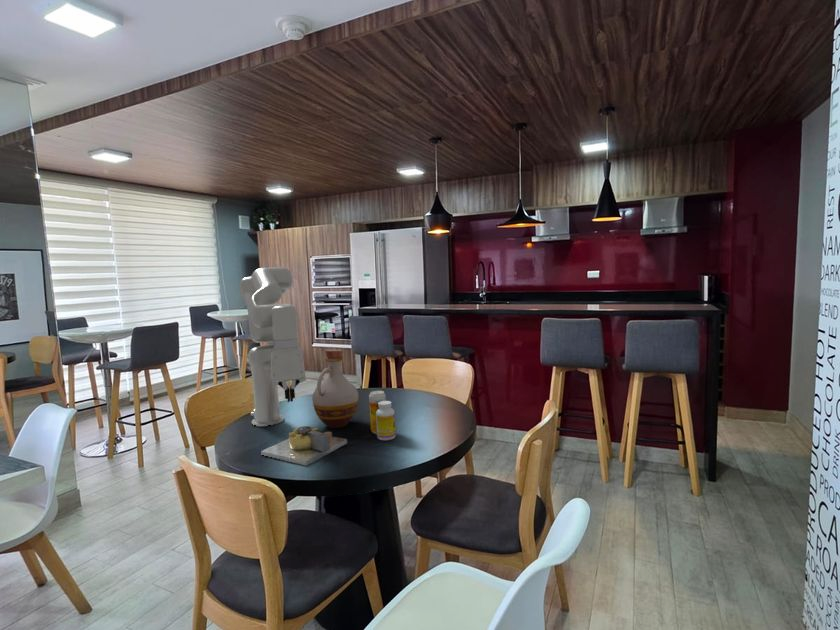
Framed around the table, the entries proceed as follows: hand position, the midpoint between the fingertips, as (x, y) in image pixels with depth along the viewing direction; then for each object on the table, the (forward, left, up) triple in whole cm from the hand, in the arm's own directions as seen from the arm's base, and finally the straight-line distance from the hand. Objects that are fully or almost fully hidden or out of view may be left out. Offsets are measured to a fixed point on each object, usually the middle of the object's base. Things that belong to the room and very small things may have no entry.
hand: (290, 400), depth 141 cm
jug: (-8, +30, -19) cm, 37 cm away
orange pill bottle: (+12, +31, -19) cm, 38 cm away
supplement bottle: (+18, +27, -19) cm, 38 cm away
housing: (-2, +7, -19) cm, 20 cm away
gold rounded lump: (+1, +7, -17) cm, 18 cm away
